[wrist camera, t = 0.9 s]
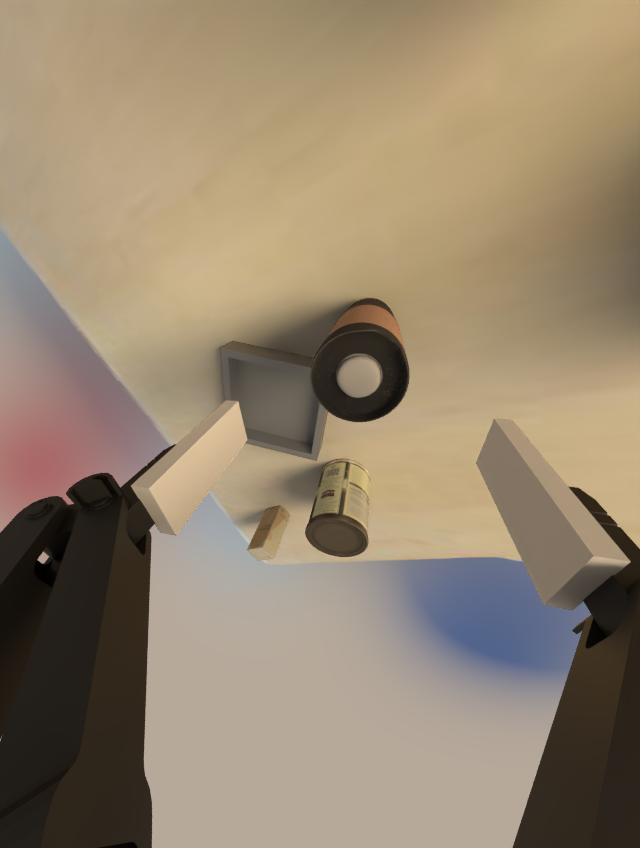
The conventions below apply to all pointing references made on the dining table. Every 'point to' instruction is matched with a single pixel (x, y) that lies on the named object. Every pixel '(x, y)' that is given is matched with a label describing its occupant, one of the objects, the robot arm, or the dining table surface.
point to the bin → (274, 398)
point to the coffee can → (340, 510)
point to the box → (269, 534)
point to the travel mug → (361, 364)
